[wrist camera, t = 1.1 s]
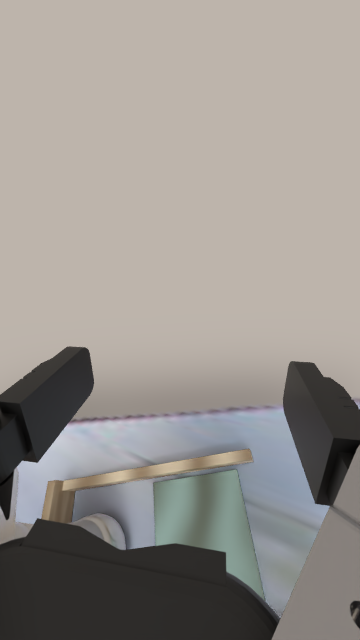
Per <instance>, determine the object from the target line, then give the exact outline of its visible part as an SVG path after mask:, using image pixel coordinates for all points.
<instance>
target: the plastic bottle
mask: <svg viewBox="0 0 360 640" xmlns="http://www.w3.org/2000/svg"><path fill="white" fill-rule="evenodd" d="M67 524H71V525H77V526H81V527H82V528H84V529H86V530H87V531H89V532H91V533H92V534H94V535H96V536H97V537H99V538H101V539H103V540H104V541H106V542H108V543H109V544H111V545H113V546H114V547H116V548H118V549H121V550H126V543H125V537H124V533H123V530H122V528H121V526H120V525H119V523H118V522H117V521H116V520H115V519H114V518H112V517H111V516H108V515H105V514H101V513H96V514H92V515H89V516H86V517H83V518H81V519H79V520H78V521H75V522H71V523H67ZM33 525H34V524H27V523H20V522H15V539H17V538H21V537H26V536H27V534H28V533H29V531H30V530H31V528H32V526H33Z"/></svg>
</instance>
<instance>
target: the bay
mask: <svg viewBox="0 0 360 640" xmlns="http://www.w3.org/2000/svg"><path fill="white" fill-rule="evenodd" d="M249 462H253V458H252V454H251V451H250V449H244V450H239V451H233V452H227V453H221V454H216V455H210V456H204V457H198V458H193V459H187V460H181V461H175V462H170V463H164V464H158V465H152V466H146V467H141V468H135V469H129V470H123V471H118V472H112V473H106V474H100V475H95V476H89V477H83V478H77V479H72V480H66V481H59V480H54V481H48V485H47V491H46V496H45V501H44V507H43V512H42V518H41V519H44V520H49V521H55V522H60V523H66V524H67V523H71V521H72V513H73V505H74V497H75V491H78V490H84V489H90V488H97V487H103V486H109V485H115V484H121V483H127V482H133V481H139V480H145V479H152V478H158V477H164V476H170V475H176V474H182V473H188V472H194V471H200V470H207V469H213V468H219V467H225V466H231V465H237V464H243V463H249ZM153 487H154V516H155V544H156V546H158V545H166V544H173V543H177V544H183V545H189V546H194V547H200V548H205V549H211V550H217V551H222V552H226V571H227V572H228V573H230V574H232V575H234V576H236V577H237V578H239V579H240V580H241V581H243V582H244V583H245V584H247V585H248V586H250V587H251V588H252V589H253V590H254V591H255V592H256V593H257V594H258V595H259V596H260V597H262V598H263V600H264V601H265V598H264V593H263V588H262V584H261V579H260V574H259V570H258V565H257V560H256V556H255V551H254V546H253V542H252V537H251V532H250V528H249V523H248V518H247V514H246V509H245V504H244V500H243V495H242V490H241V486H240V481H239V476H238V472H237V469H236V470H230V471H224V472H218V473H211V474H205V475H199V476H193V477H186V478H180V479H174V480H168V481H161V482H155V483H153Z"/></svg>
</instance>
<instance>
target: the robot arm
mask: <svg viewBox="0 0 360 640" xmlns="http://www.w3.org/2000/svg"><path fill="white" fill-rule="evenodd" d="M93 385H94V378H93V372H92V365H91V359H90V353H89V350H88V349H87V348H85V347H66V348H65V349H64V350H62V351H61V352H60V353H58V354H57V355H56V356H55V357H53V358H52V359H50V360H47V361H45V362H43V363H41V364H40V365H39V366H37V367H36V368H35V369H33V370H32V372H30V373H28V374H27V375H26V376H24V377H23V379H20V380H19V381H18V382H16V383H15V384H14V385H12V386H11V387H10V388H9V389H7V390H6V391H5V392H4V393H2V394H1V395H0V640H360V410H359V409H358V406H357V405H356V403H355V402H354V401H353V400H351V397H350V395H349V394H348V393H347V391H346V390H345V389H344V387H342V386H341V385H340V384H338V383H337V382H335V381H334V380H333V379H331V378H327V377H323V375H322V374H321V372H320V371H319V370H318V368H317V367H316V365H315V364H314V363H310V362H294V361H292V362H290V364H289V367H288V373H287V378H286V384H285V390H284V397H283V407H284V413H285V416H286V419H287V422H288V425H289V428H290V431H291V434H292V437H293V439H294V442H295V445H296V448H297V451H298V454H299V457H300V460H301V463H302V466H303V469H304V472H305V475H306V478H307V481H308V483H309V486H310V489H311V492H312V495H313V498H314V501H315V504H321V505H328V506H330V508H329V510H328V512H327V514H326V516H325V519H324V521H323V523H322V525H321V528H320V530H319V532H318V535H317V537H316V539H315V541H314V544H313V546H312V548H311V551H310V553H309V555H308V557H307V560H306V562H305V564H304V567H303V569H302V571H301V573H300V576H299V578H298V580H297V583H296V585H295V587H294V589H293V592H292V594H291V596H290V599H289V601H288V603H287V605H286V608H285V610H284V612H283V615H282V617H281V619H279V617H278V616H277V615H276V613H275V612H274V611H273V610H272V609H271V607H270V606H269V605H268V604H267V603H266V602H265V601H264V600H263V598H262V597H260V596H259V595H258V594H257V593H256V592H255V591H254V590H253V589H252V588H251V587H250V586H248V585H247V584H245V583H244V582H243V581H241V580H240V579H239V578H237V577H236V576H234V575H232V574H230V573H228V572H227V571H226V552H222V551H217V550H211V549H205V548H200V547H194V546H189V545H183V544H177V543H173V544H166V545H158V546H151V547H144V548H137V549H129V550H121V549H118V548H116V547H114V546H113V545H111V544H109V543H108V542H106V541H104V540H103V539H101V538H99V537H97V536H96V535H94V534H92V533H91V532H89V531H87V530H86V529H84V528H82V527H81V526H77V525H71V524H66V523H60V522H55V521H49V520H44V519H38V518H37V520H36V522H35V523H34V525H33V526H32V528H31V530H30V531H29V533H28V534H27V536H26V537H21V538H17V539H15V517H16V504H17V491H18V477H19V472H18V469H17V466H18V465H19V464H20V462H21V461H29V462H36V463H38V461H39V460H40V459H41V458H42V456H43V455H44V454H45V452H46V451H47V450H48V449H49V447H50V446H51V445H52V443H53V442H54V441H55V439H56V438H57V437H58V436H59V434H60V433H61V432H62V430H63V429H64V428H65V427H66V425H67V424H68V423H69V421H70V420H71V419H72V418H73V416H74V415H75V414H76V412H77V411H78V409H79V408H80V407H81V406H82V404H83V403H84V402H85V401H86V399H87V398H88V397H89V396H90V394H91V392H92V389H93Z"/></svg>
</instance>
